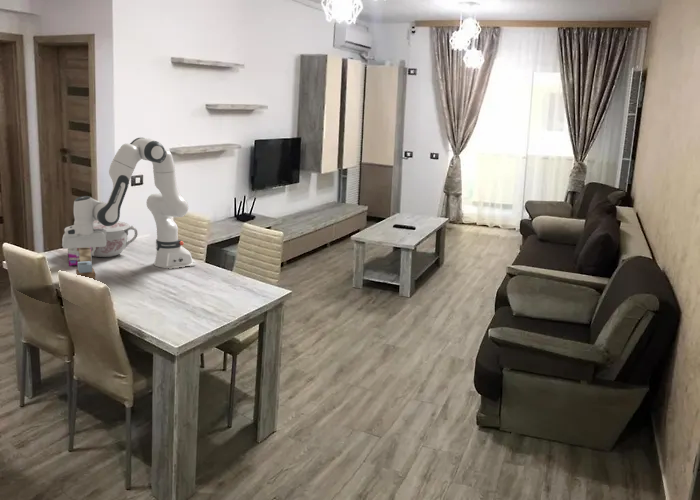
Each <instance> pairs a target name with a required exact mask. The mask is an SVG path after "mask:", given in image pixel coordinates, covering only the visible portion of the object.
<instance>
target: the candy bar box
mask: <svg viewBox="0 0 700 500" xmlns="http://www.w3.org/2000/svg"><path fill="white" fill-rule="evenodd" d="M90 249H91V247H90ZM76 251H77V252H79V248H77V250H76ZM67 261H68V267H78V262H80V259H79V256H78V257H77V256H76V252H75V251H74V248H67ZM92 261H93V258H92V256H91V263H92V264H93V262H92ZM82 262H84V261H82Z"/></svg>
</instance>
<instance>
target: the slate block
mask: <svg viewBox="0 0 700 500" xmlns="http://www.w3.org/2000/svg"><path fill="white" fill-rule="evenodd" d="M92 268H93V262H92V263H91V261H84V262H78V266H77V269H78V271H79V273H86V272H92Z"/></svg>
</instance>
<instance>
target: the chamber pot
mask: <svg viewBox="0 0 700 500" xmlns="http://www.w3.org/2000/svg"><path fill="white" fill-rule="evenodd" d="M93 224H94V229H101V228H102V229H105V230H106V232H107V235H106V246H105V247H96V250H95V251H94V256H93V257H96V258H113V257H115V256H116V257H117V256H119V255H120V254H121V253H122V252H123V250H125V249H126V247H128V246H129V245H130V244H132V243H133V242H134V241H135V240H136V239H137V238H138V229H137V228H136V227H135V226H134V225H131V226H130V224H129V223H127V222H123V221H119V220H118V222H117V223H116V224H114V225H112V226H104V225H103V224H101V223H100V222H99V221H94V222H93ZM131 230H132V231H134V235H133V237H132V238H131V239H130V240H128V235H129V231H131ZM92 250H93V247H91V252H92Z"/></svg>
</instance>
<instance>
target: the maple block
mask: <svg viewBox="0 0 700 500" xmlns="http://www.w3.org/2000/svg"><path fill="white" fill-rule="evenodd" d="M79 253H80V256H79V259H80V262H82V261H91V249H90V247H88V248H79Z"/></svg>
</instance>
